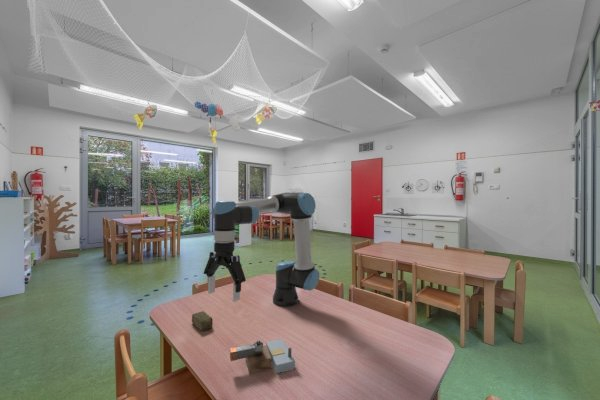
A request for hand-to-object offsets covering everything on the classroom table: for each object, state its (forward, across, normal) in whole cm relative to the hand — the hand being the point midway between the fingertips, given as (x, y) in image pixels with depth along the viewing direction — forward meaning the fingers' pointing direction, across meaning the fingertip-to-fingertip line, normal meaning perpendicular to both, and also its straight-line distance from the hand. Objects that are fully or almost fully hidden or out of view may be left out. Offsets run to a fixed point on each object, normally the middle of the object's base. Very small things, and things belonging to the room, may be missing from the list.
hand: (223, 296), depth 97 cm
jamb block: (+24, -14, -4) cm, 28 cm away
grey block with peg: (+24, -19, -11) cm, 32 cm away
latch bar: (+19, -12, -1) cm, 23 cm away
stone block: (+24, +27, -12) cm, 38 cm away
